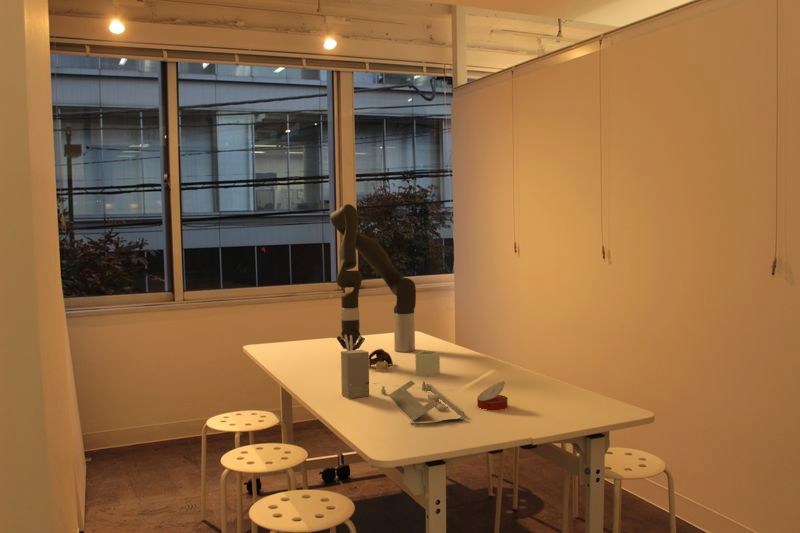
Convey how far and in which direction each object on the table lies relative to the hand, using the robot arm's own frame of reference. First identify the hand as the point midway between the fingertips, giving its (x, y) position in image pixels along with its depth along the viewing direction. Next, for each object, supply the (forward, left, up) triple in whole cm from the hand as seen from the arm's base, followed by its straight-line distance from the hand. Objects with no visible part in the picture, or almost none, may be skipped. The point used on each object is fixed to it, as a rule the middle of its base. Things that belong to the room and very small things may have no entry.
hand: (351, 359), depth 328 cm
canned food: (+43, +78, -2) cm, 89 cm away
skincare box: (+47, +29, -2) cm, 55 cm away
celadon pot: (+9, +39, -2) cm, 40 cm away
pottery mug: (-1, +14, -2) cm, 14 cm away
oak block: (+10, +20, -2) cm, 22 cm away
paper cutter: (+52, +57, -3) cm, 77 cm away
